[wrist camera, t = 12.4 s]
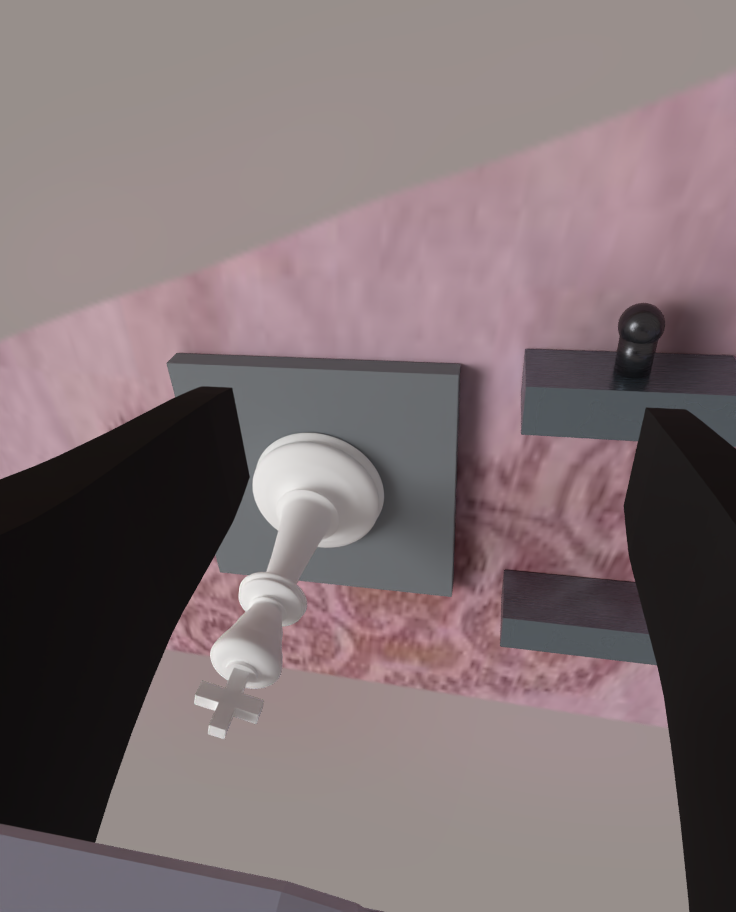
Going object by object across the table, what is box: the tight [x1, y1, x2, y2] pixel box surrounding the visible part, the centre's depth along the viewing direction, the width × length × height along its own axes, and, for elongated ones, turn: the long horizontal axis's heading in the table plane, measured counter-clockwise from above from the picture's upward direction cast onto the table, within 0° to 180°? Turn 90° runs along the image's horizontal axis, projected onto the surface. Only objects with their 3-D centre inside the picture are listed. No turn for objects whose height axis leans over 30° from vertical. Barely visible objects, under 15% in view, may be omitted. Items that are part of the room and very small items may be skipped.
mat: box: [167, 353, 460, 597], centre depth 24 cm, size 10×10×1 cm
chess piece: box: [194, 433, 384, 739], centre depth 20 cm, size 5×5×10 cm
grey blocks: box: [500, 303, 736, 665], centre depth 21 cm, size 6×13×2 cm, turn 3°
